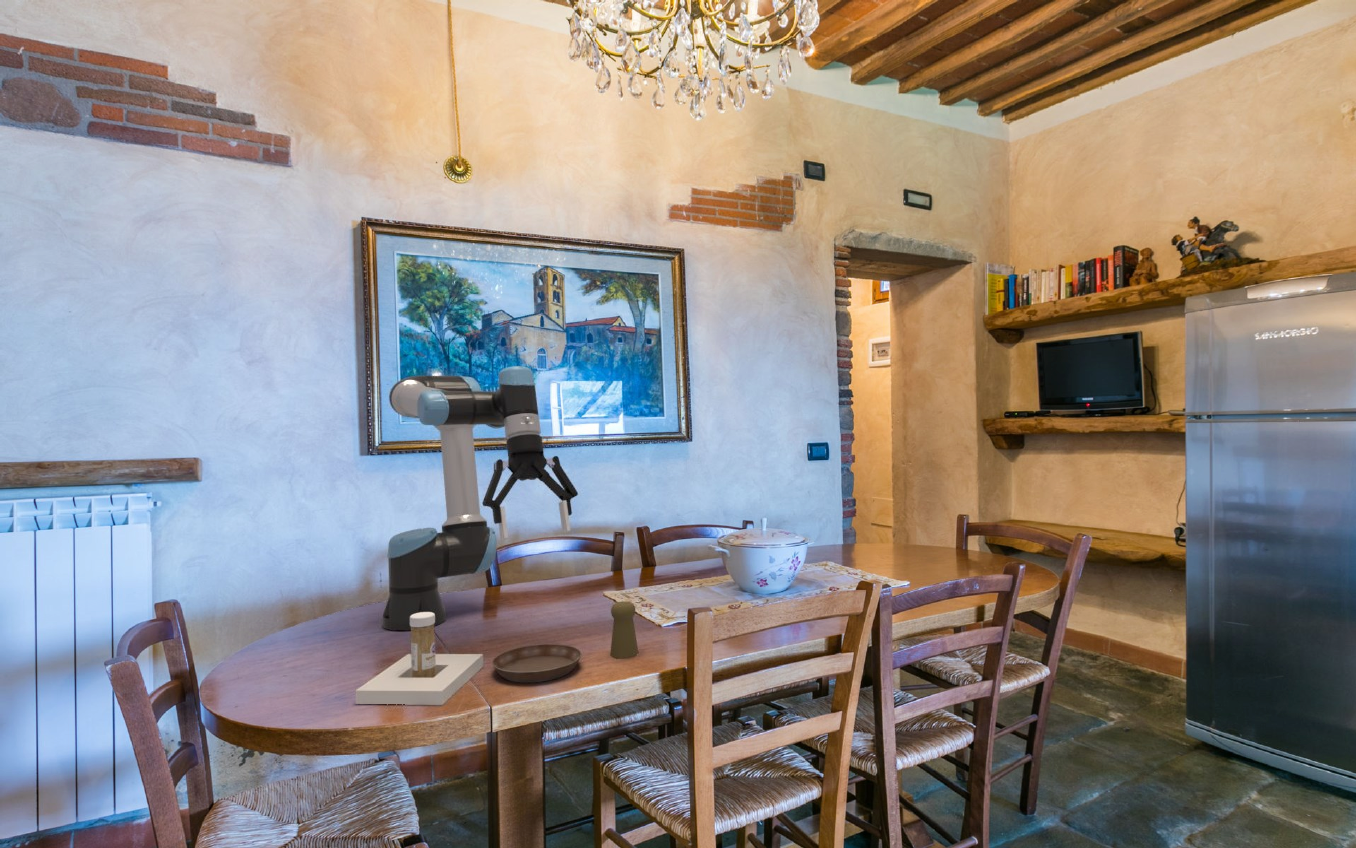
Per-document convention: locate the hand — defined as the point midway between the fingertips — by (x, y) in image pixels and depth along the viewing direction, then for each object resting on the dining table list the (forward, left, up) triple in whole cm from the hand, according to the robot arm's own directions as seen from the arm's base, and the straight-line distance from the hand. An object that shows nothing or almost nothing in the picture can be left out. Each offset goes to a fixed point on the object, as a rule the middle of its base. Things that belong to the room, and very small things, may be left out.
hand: (536, 535), depth 146 cm
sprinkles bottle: (+13, -19, -27) cm, 35 cm away
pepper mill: (-5, +17, -27) cm, 32 cm away
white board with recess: (+13, -19, -26) cm, 35 cm away
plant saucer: (+5, +1, -27) cm, 27 cm away
